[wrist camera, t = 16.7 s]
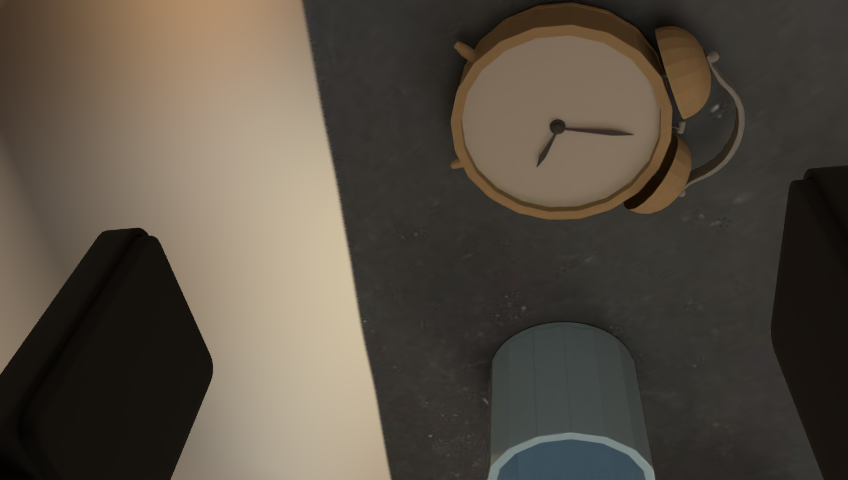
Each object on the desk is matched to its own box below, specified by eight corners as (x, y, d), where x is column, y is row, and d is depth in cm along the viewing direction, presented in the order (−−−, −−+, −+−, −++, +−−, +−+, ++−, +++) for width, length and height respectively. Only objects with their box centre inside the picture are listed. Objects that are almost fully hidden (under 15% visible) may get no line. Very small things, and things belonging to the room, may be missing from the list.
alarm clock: (447, 16, 37) (778, 50, 34) (469, -17, 41) (768, 11, 38) (443, 208, 44) (718, 252, 41) (462, 165, 48) (716, 201, 45)
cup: (461, 361, 55) (453, 472, 48) (584, 299, 51) (597, 410, 43) (542, 439, 60) (547, 552, 52) (662, 388, 55) (687, 504, 48)
